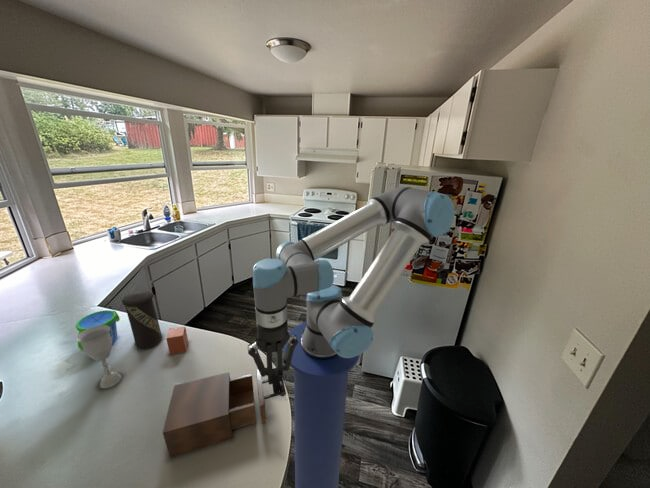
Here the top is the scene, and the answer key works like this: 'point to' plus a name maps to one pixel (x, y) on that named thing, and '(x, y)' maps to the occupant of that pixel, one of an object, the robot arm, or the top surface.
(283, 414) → the top surface
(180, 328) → the block
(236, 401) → the drawer
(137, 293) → the container
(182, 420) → the cabinet
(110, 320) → the snack cup
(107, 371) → the chalice
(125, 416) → the top surface
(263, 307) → the robot arm
